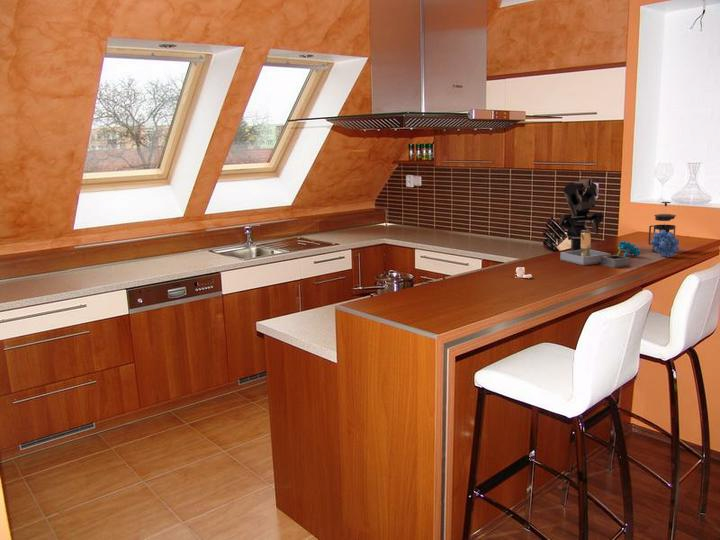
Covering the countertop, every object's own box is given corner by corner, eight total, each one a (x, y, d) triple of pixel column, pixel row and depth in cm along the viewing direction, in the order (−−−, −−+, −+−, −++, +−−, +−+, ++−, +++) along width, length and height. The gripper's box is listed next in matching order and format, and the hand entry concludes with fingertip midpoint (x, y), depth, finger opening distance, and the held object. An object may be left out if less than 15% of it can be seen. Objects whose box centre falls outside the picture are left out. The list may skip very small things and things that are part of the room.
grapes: (647, 257, 270) (648, 230, 267) (652, 254, 274) (653, 228, 272) (675, 259, 262) (677, 232, 259) (680, 257, 267) (682, 230, 264)
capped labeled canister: (578, 259, 269) (579, 230, 267) (585, 258, 271) (586, 229, 268) (584, 260, 266) (585, 231, 263) (592, 259, 267) (592, 230, 264)
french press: (678, 250, 281) (681, 201, 276) (672, 254, 274) (675, 203, 270) (651, 248, 289) (654, 200, 284) (645, 251, 282) (647, 202, 277)
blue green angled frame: (646, 253, 269) (632, 239, 266) (639, 264, 268) (625, 249, 265) (627, 253, 280) (614, 239, 277) (620, 263, 278) (607, 249, 275)
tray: (560, 259, 272) (560, 252, 272) (586, 256, 277) (587, 248, 277) (583, 265, 259) (583, 257, 258) (610, 261, 264) (611, 253, 263)
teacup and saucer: (534, 279, 238) (534, 269, 238) (514, 281, 238) (515, 270, 237) (527, 275, 247) (527, 265, 246) (508, 276, 247) (508, 266, 246)
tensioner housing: (601, 264, 258) (601, 256, 257) (615, 262, 261) (615, 255, 260) (614, 267, 251) (614, 259, 250) (628, 265, 254) (629, 257, 253)
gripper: (562, 195, 265) (573, 223, 257) (602, 193, 267) (615, 221, 259) (554, 212, 274) (564, 239, 266) (593, 209, 276) (604, 237, 268)
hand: (587, 234), depth 264 cm, fingers open, 9 cm apart
